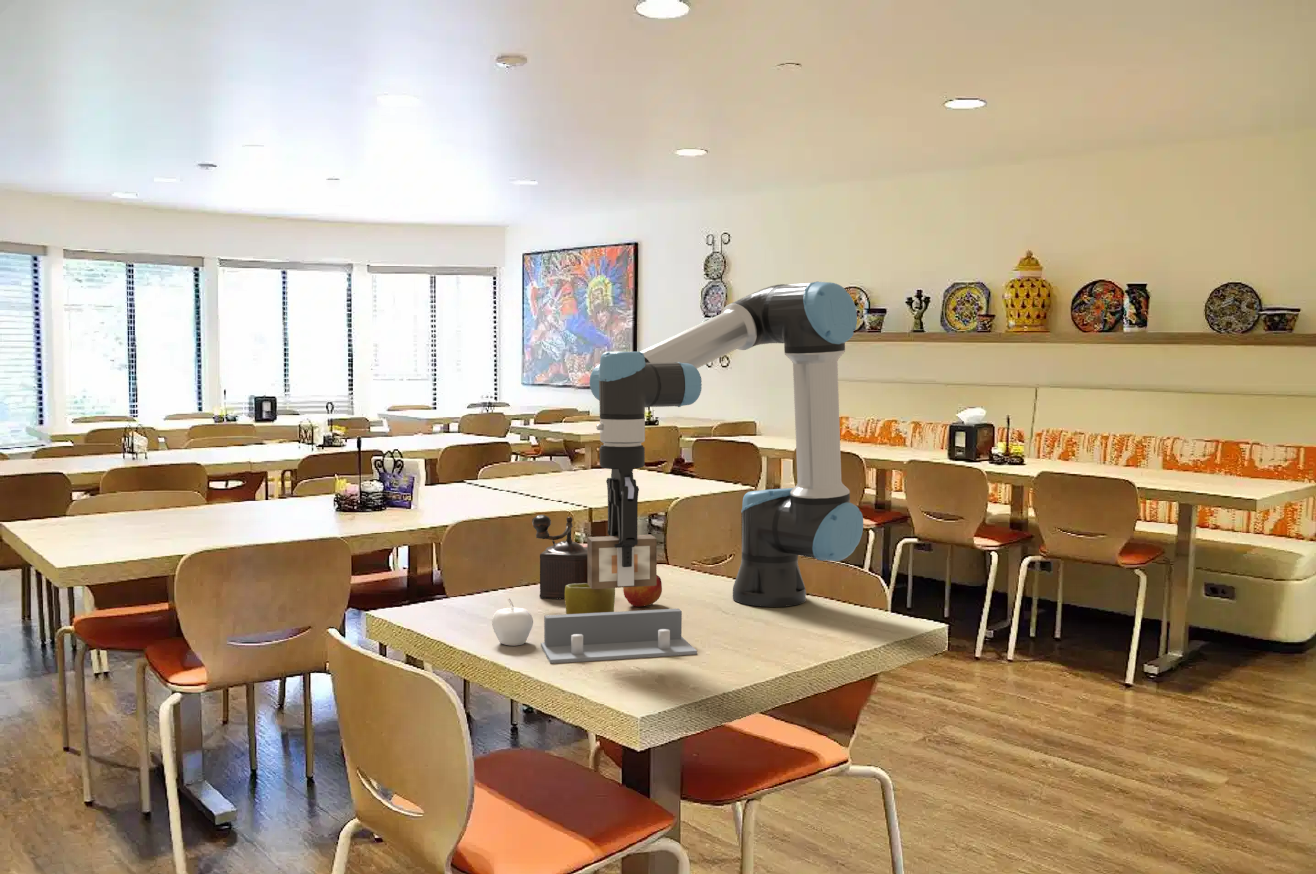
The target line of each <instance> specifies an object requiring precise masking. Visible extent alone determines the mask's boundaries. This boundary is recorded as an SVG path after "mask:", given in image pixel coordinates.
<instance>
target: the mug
mask: <svg viewBox="0 0 1316 874" xmlns="http://www.w3.org/2000/svg"><path fill="white" fill-rule="evenodd" d="M615 599H616V588H603V589H591V587H590V586H589V585H588V584H587V583H581V584H568V585H566V586H565V600H564V603H565V613H566V614H583V613H602V612H615Z"/></svg>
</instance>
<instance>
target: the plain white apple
mask: <svg viewBox="0 0 1316 874" xmlns="http://www.w3.org/2000/svg"><path fill="white" fill-rule="evenodd" d="M507 601H508V602H509V605H510V607H504V608H500V609H498V610H495V612H494V614H493V616H492V620H491V626H492V630H493V632H494V633H495V635H496V638H497V640H498V641H499V643H500V644H501V645H504V646H513V647H514V646H515V647H516V646H522V645H524V644H525V643H526V641H527V640H528V639H529V635H530V633H531V631H532V628H533V624H534V619H533V615H532V614H531V613H530V611H529V610H528V609H527V608H525V607H524V608H523V607H515V606H514V603H513V602H512V600H511V598H507Z"/></svg>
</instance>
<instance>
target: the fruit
mask: <svg viewBox="0 0 1316 874" xmlns="http://www.w3.org/2000/svg"><path fill="white" fill-rule="evenodd" d="M622 591H623V592H622V593H623V596H624V598H625V599H626V601H627V602H628V603H629V604H630V605H631V606H634V607H638V608H640V607H641V608H642V607H648V606H650V605H652V604H654V603H655V602H657V601H658V600H659V599H660V597H661V595H662V593H663V583H662V579H661V577H660V576H659V574H657V586H639V587H622Z"/></svg>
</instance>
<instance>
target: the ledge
mask: <svg viewBox="0 0 1316 874" xmlns="http://www.w3.org/2000/svg"><path fill="white" fill-rule="evenodd" d="M682 615H683V612H682V610H681V609H680V608H663V609H645V610H642V609H641V610H628V611H627V610H626V611H624V610H623V611H614V612H602V613H583V614H549V615H548V614H547V615H546V614H545V615H544V619H543V621H544V624H543V627H544V632H543V634H544V635H543V636H544V637H543V638H544V640H543V642H540V648H541V649H542V651H543V653H544V655H545V657H546V659H547V660H548V662H549V663H550V664H563V663H578V662H592V661H593V662H594V661H595V662H596V661H609V660H611V661H612V660H624V659H625V660H626V659H628V660H629V659H640V658H658V657H660V658H661V657H675V656H688V655H697V654H698V650H697V649H696V648H695V647H694V646H692V644H691V643H689V642H688V641H687V640H686V639H685V638H684V637H683V635H682V634H683V633H682V627H683V626H682V624H683V623H682V619H683V618H682V617H683V616H682Z"/></svg>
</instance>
